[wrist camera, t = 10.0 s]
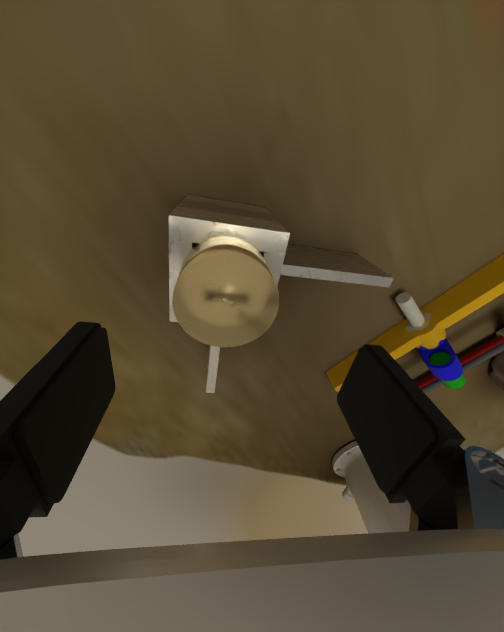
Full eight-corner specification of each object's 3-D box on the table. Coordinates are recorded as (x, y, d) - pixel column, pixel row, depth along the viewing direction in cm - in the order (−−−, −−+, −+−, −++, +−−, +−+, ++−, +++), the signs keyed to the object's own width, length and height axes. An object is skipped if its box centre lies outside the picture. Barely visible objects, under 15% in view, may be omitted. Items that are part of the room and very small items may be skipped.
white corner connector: (316, 357, 31) (347, 420, 24) (183, 350, 28) (170, 420, 21) (369, 224, 23) (443, 255, 15) (188, 194, 20) (168, 215, 12)
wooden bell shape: (248, 274, 23) (268, 349, 14) (192, 267, 22) (172, 344, 13) (258, 215, 20) (290, 261, 11) (194, 205, 19) (171, 246, 10)
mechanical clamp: (637, 325, 26) (385, 452, 35) (567, 298, 31) (363, 414, 40) (651, 181, 18) (313, 396, 26) (552, 176, 23) (298, 357, 32)
